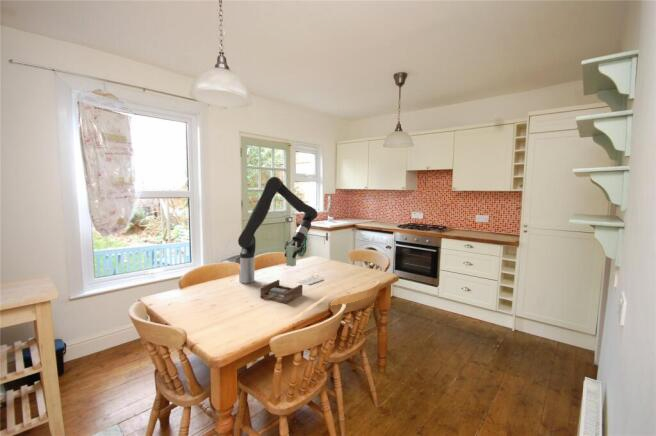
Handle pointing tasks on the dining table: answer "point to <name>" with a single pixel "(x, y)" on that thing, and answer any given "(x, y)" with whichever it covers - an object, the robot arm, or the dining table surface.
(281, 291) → the offcut short
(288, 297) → the rack
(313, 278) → the pale grey flat slab
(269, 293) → the offcut long
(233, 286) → the dining table surface
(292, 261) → the grey-green block
